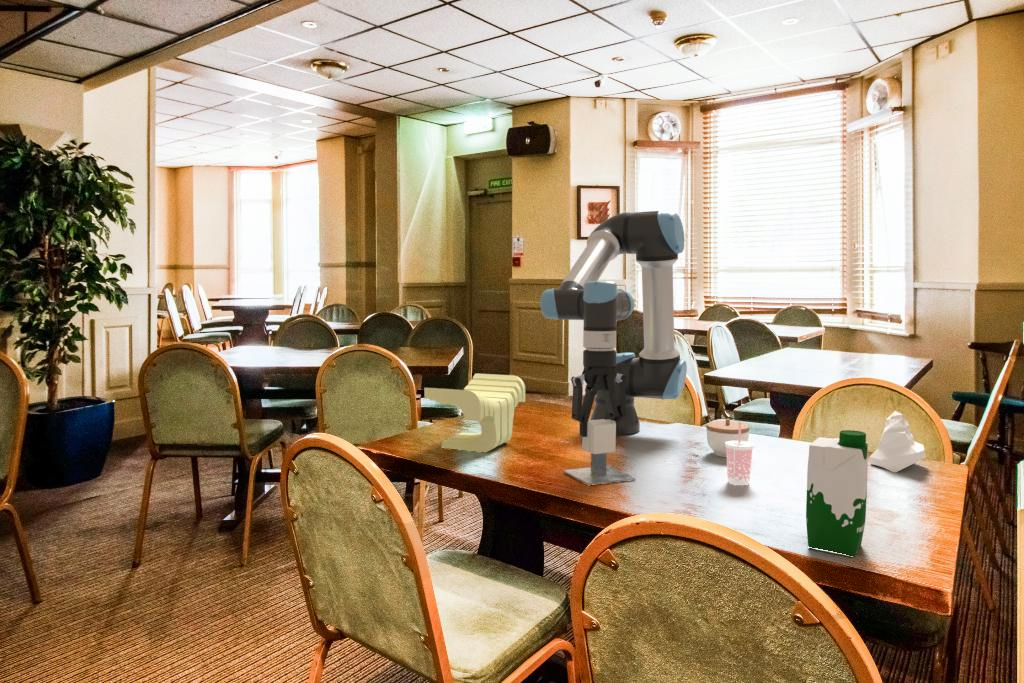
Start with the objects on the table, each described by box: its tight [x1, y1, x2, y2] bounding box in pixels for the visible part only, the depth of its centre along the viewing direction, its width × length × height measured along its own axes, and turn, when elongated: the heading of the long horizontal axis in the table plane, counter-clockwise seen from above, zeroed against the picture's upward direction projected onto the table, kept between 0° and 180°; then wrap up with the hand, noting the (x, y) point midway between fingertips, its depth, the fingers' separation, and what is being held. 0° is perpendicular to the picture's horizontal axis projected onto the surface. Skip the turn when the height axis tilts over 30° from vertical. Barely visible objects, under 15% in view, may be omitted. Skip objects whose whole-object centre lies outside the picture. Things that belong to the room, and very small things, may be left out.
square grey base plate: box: [563, 453, 636, 485], centre depth 165 cm, size 12×12×7 cm
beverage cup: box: [725, 420, 755, 485], centre depth 160 cm, size 6×6×14 cm
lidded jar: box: [705, 418, 750, 458], centre depth 186 cm, size 11×11×9 cm
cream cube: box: [581, 419, 617, 454], centre depth 165 cm, size 6×6×7 cm
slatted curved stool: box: [423, 373, 526, 453], centre depth 196 cm, size 30×16×18 cm, turn 157°
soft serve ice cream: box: [868, 410, 927, 473], centre depth 174 cm, size 12×15×14 cm
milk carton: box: [805, 429, 869, 557], centre depth 121 cm, size 9×9×20 cm
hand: (598, 449), depth 165 cm, fingers closed on cream cube, 6 cm apart
